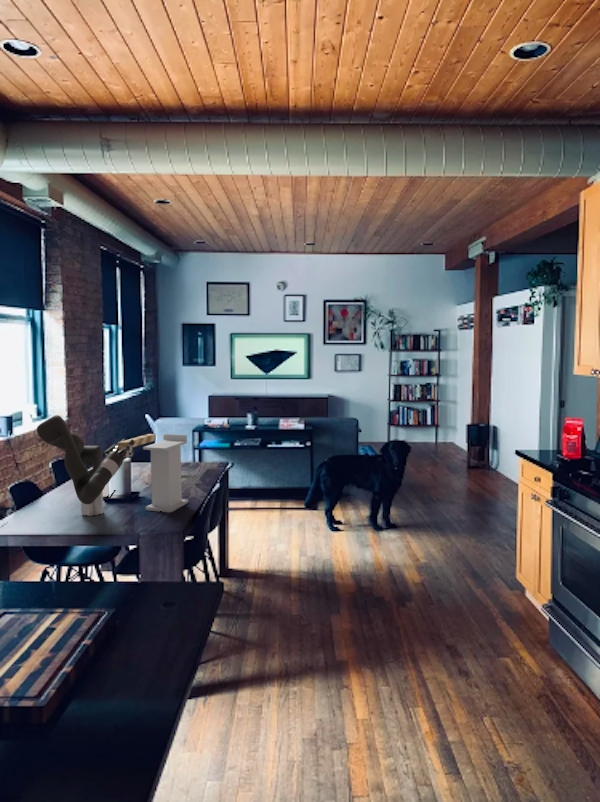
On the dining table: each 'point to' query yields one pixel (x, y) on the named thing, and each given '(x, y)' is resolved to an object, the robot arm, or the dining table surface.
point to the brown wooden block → (138, 440)
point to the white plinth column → (166, 473)
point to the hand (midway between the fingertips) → (128, 440)
